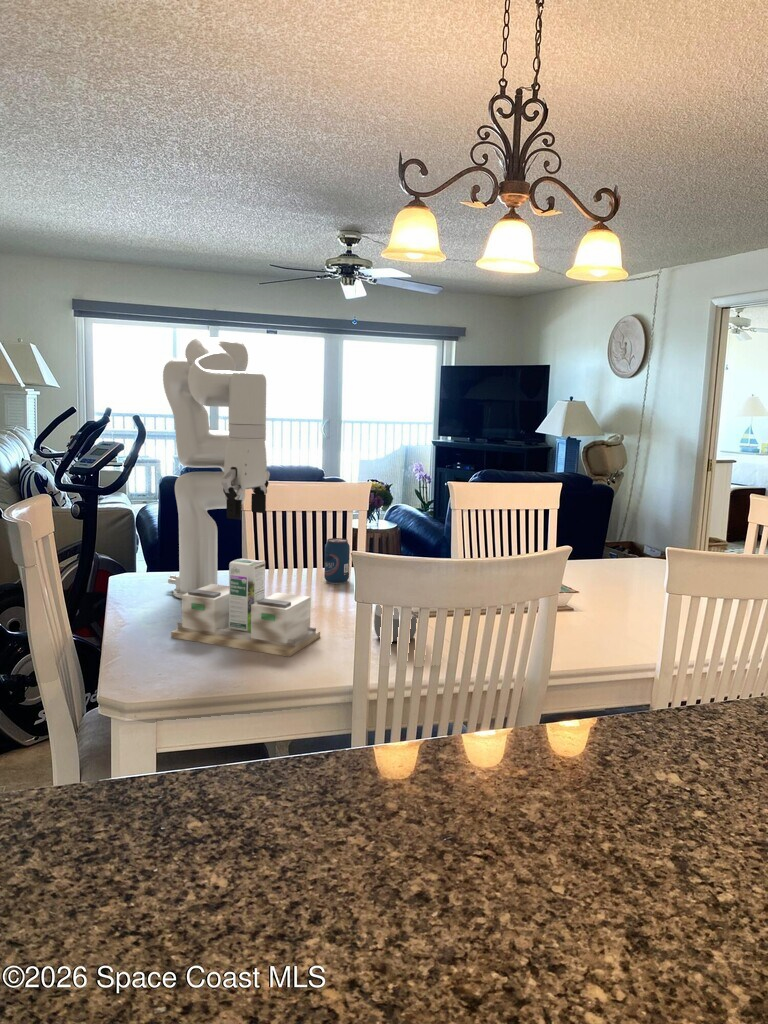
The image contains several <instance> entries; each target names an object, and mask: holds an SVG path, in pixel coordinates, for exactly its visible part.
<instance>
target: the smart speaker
mask: <svg viewBox="0 0 768 1024" xmlns="http://www.w3.org/2000/svg"><path fill="white" fill-rule="evenodd" d="M381 614H382V608H381V606H380V605H376V604H375V609H374V617H373V619H374V620H373V628H374V632H375V634H376V636H377V638H379V636H380V627H381ZM416 623H417V624H418V618H417V619H416V617H415V616H412V619H411V629H410V640H412V639H413V638H414V637H415V634H416V633H417V629H416ZM398 627H399V612H398V609H397V608H394V615H393V644H394V643H395V644H397V637H398Z"/></svg>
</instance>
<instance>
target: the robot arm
mask: <svg viewBox="0 0 768 1024" xmlns="http://www.w3.org/2000/svg"><path fill="white" fill-rule="evenodd" d="M185 347H186V348H185V353H184V354H185V358H175V359H172V360H169V361H167V363H166V364H164V367H163V371H162V381H163V382H162V383H163V389H164V393H165V396H166V398H167V401H168V405H169V406H170V408H171V411H172V414H173V415H172V416H173V420H174V432H175V443H176V450H177V451H176V452H177V458H178V461H179V462H180V464H181V465H182V466H183V467H186V468H195V469H196V468H220V469H221V471H191V472H186V473H183V474H181V475H179V476H178V477H177V478H176V480H175V483H174V495H175V500H176V506H177V513H178V544H179V545H178V547H179V548H178V550H179V551H178V555H179V556H178V561H179V562H178V563H179V564H178V565H179V568H178V569H179V575H176V574H171V575H170V576H169V578H168V580H167V583H168V584H171V585H175V588H174V589H173V593H172V594H173V596H174V597H175V598H177V599H180V600H182V595H184V594H186V593H188V592H189V591H191V590H194V589H199V588H202V587H205V586H207V585H210V584H216V585H218V526H217V523H216V521H215V519H213V517H212V516H210V514H209V513H208V511H209V510H217V509H219V510H220V509H226V519H229V520H230V519H231V520H237V521H238V520H241V519H242V513H243V512H242V511H243V510H242V509H243V507H242V506H243V504H244V502H245V499H246V490H250V489H251V490H252V492H253V493H251V507H250V509H251V512H252V513H258V514H265V513H266V511H267V498H266V497H267V494H268V489H267V488H268V486H269V481H270V476H271V473H270V471H269V470H268V469H267V468H268V467H267V461H268V460H267V449H266V447H267V446H266V442H265V441H266V440H267V439H266V438H267V431H266V430H267V377H266V376H265V375H264V373H261V372H255V371H254V372H253V371H247V367H248V363H249V354H248V351H247V347H246V346H245V344H244V343H243V342H242V341H240V340H238V339H235V338H223V337H208V336H204V337H202V336H201V337H196V338H194V339H192V340H191V341H189V343H188V344H187V345H186V346H185ZM205 407H222V408H223V407H224V408H225V407H226V408H227V407H228V430H213V429H211V428H210V421H209V414H208V410H207V409H206V408H205Z"/></svg>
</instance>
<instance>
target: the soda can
mask: <svg viewBox="0 0 768 1024" xmlns="http://www.w3.org/2000/svg"><path fill="white" fill-rule="evenodd" d="M348 541H349V540H348V539H346V538H341V537H339V538H338V537H335V538H334V537H332V538H328V539H327V540H326V544H324V577H323V578H324V579H325V581H326V583H328V584H332V585H341V584H346V583H347V582H348V580H349V579H350V554H351V553H350V550H351V549H350V547H351V546H350V544H349V542H348Z"/></svg>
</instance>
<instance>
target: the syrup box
mask: <svg viewBox="0 0 768 1024" xmlns="http://www.w3.org/2000/svg"><path fill="white" fill-rule="evenodd" d="M228 568H229V569H228V577H229V578H228V581H229V582H228V586H229V629H234V630H240V631H247V632H251V605H252V604H254V603H256V602H257V601H259V600H261V599H263V598H266V597H265V595H266V594H265V593H266V590H265V589H266V588H265V585H266V582H265V581H266V560H256V559H248V558H237V559H234V560H232V561H230V562H229V564H228Z"/></svg>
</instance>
